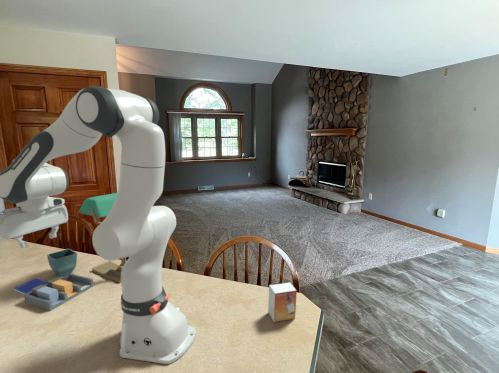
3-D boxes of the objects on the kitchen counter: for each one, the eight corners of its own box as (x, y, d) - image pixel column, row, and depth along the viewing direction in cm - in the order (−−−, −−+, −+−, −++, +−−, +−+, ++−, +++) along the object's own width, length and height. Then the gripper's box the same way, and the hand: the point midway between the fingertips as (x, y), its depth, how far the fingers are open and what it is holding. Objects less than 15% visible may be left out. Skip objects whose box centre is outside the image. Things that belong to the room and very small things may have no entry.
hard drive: (13, 287, 105) (31, 295, 100) (36, 277, 112) (55, 284, 107) (13, 291, 105) (32, 299, 100) (37, 281, 113) (55, 288, 108)
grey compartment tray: (93, 286, 108) (92, 278, 108) (50, 310, 93) (49, 302, 92) (70, 280, 113) (69, 273, 112) (25, 302, 97) (24, 294, 96)
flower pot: (71, 266, 125) (69, 248, 123) (79, 271, 120) (77, 253, 118) (48, 273, 118) (46, 254, 116) (56, 280, 113) (54, 260, 111)
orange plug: (73, 292, 102) (72, 282, 102) (65, 296, 100) (64, 286, 99) (56, 287, 105) (55, 277, 105) (48, 291, 103) (47, 281, 102)
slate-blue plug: (59, 299, 97) (57, 289, 97) (50, 304, 95) (49, 293, 94) (42, 294, 100) (40, 284, 100) (33, 299, 98) (31, 288, 97)
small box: (273, 322, 88) (274, 293, 86) (267, 312, 94) (268, 284, 92) (295, 318, 90) (297, 290, 89) (289, 308, 96) (290, 281, 94)
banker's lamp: (111, 287, 108) (104, 202, 102) (82, 274, 118) (74, 196, 112) (144, 271, 121) (139, 195, 115) (115, 260, 131) (109, 190, 125)
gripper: (3, 212, 81) (10, 255, 83) (68, 198, 100) (73, 234, 102) (-10, 210, 83) (-3, 252, 85) (56, 197, 102) (61, 232, 104)
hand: (39, 242), depth 94 cm, fingers open, 8 cm apart
